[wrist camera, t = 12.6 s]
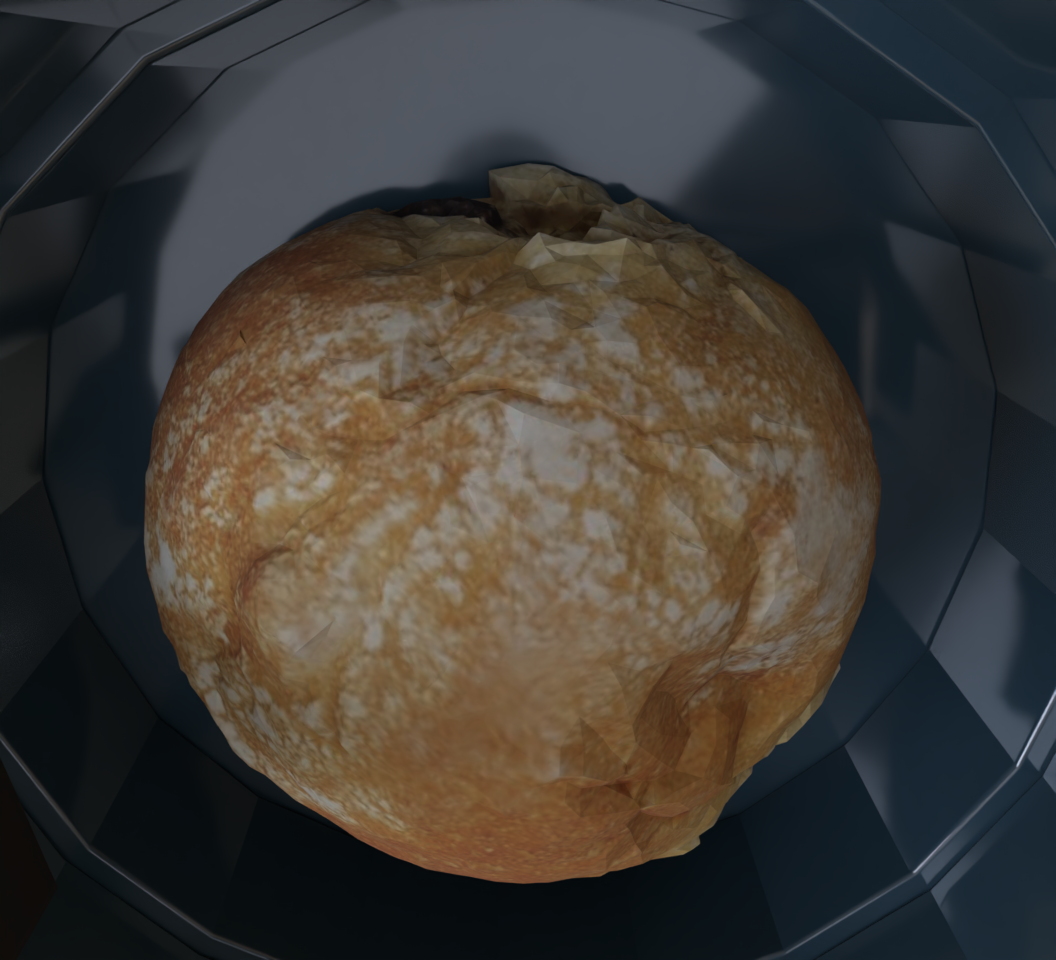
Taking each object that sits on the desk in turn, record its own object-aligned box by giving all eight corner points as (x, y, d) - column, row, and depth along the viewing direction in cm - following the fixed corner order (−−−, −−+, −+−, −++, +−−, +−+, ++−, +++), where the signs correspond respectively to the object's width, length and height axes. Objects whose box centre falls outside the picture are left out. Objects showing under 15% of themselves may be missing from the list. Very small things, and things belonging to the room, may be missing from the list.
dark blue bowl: (1256, 312, 15) (1802, 477, 9) (659, 985, 21) (730, 1390, 14) (281, -403, 12) (11, -1008, 5) (-138, 645, 17) (-525, 989, 11)
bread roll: (750, 207, 17) (892, -54, 9) (867, 769, 17) (1119, 993, 9) (225, 316, 18) (-62, 152, 10) (322, 864, 17) (101, 1157, 9)
